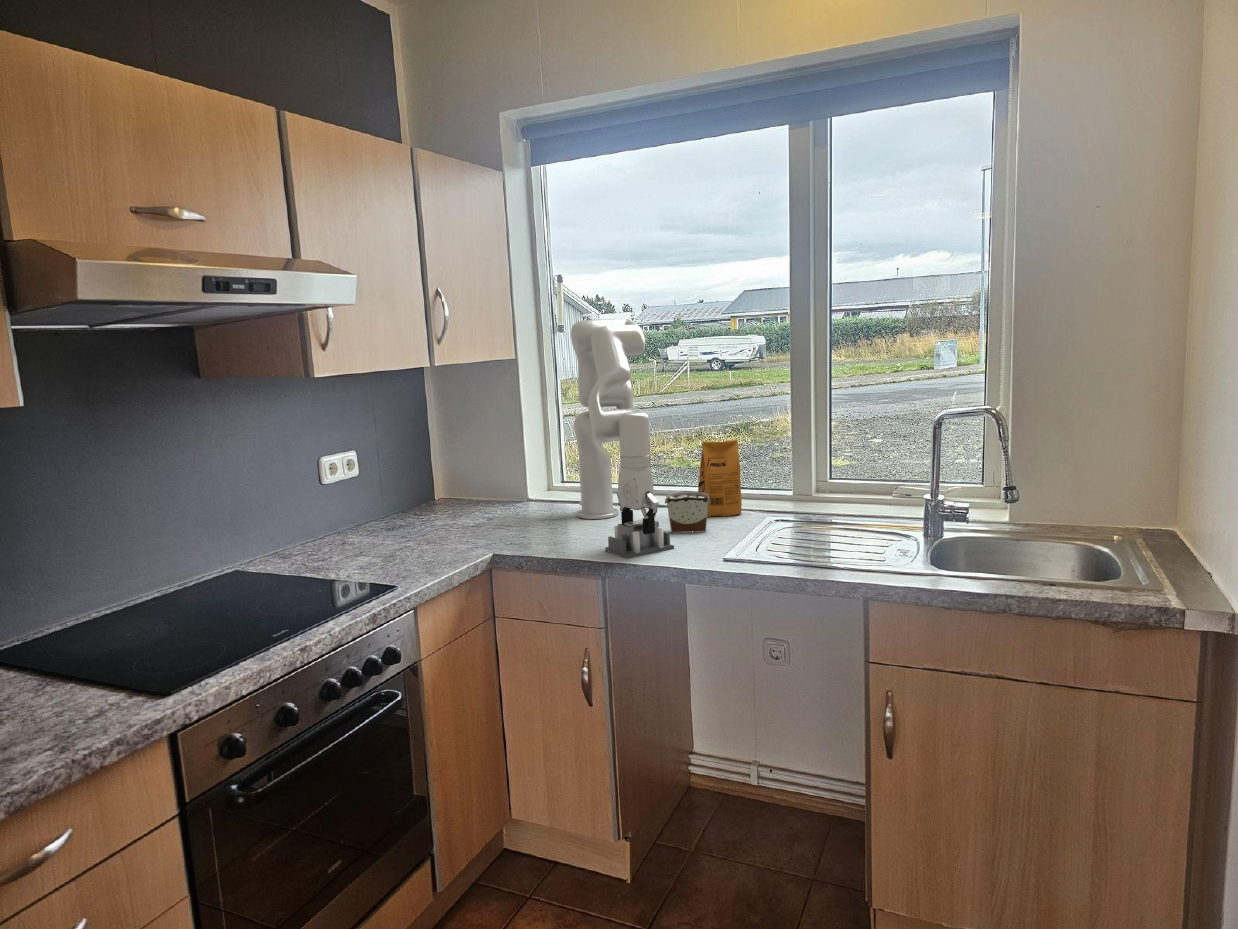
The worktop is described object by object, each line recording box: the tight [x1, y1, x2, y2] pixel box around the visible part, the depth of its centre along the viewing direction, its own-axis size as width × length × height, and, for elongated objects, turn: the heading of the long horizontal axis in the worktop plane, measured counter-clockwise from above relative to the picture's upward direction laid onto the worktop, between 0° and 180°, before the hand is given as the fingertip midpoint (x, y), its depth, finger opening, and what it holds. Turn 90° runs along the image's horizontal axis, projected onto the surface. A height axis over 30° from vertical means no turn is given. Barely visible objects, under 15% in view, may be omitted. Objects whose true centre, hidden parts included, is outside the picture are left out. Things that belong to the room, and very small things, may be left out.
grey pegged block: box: [604, 525, 675, 559], centre depth 201 cm, size 10×14×6 cm
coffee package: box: [697, 438, 743, 518], centre depth 237 cm, size 10×12×22 cm
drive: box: [617, 519, 660, 551], centre depth 201 cm, size 5×9×6 cm, turn 122°
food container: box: [664, 491, 711, 533], centre depth 220 cm, size 12×6×10 cm, turn 84°
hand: (638, 529), depth 201 cm, fingers open, 9 cm apart
